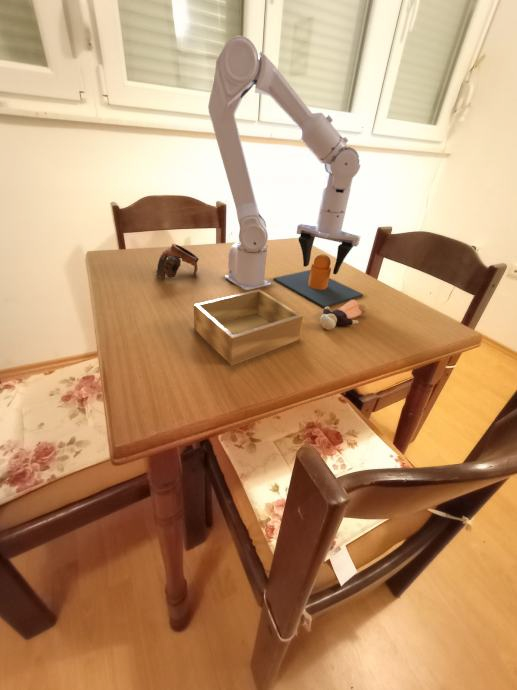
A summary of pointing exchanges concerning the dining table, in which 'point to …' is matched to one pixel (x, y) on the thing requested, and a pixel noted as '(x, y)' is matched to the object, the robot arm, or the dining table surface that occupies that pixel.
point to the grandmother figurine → (342, 315)
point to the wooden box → (246, 324)
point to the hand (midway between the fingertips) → (320, 269)
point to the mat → (324, 297)
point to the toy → (320, 272)
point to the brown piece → (175, 261)
